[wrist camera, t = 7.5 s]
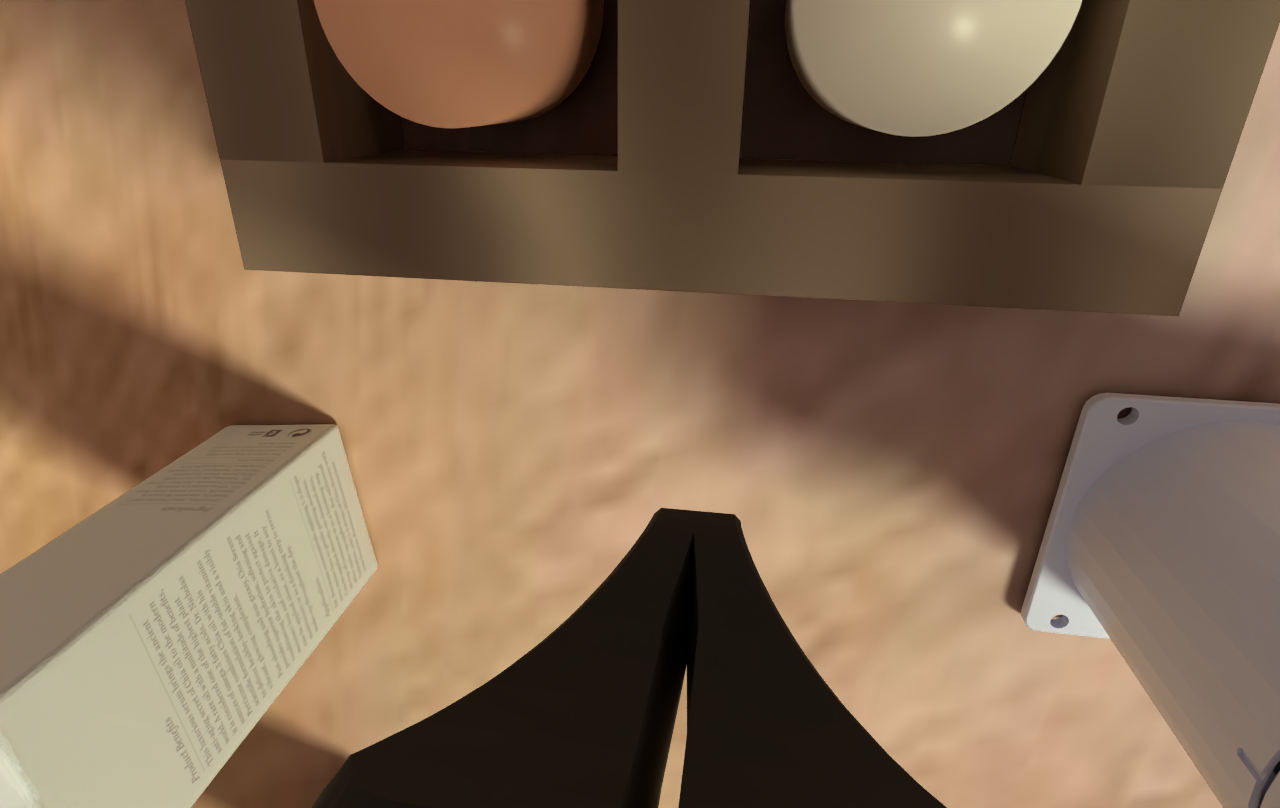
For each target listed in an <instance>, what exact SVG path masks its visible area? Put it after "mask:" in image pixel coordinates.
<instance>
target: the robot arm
mask: <svg viewBox="0 0 1280 808" xmlns="http://www.w3.org/2000/svg"><path fill="white" fill-rule="evenodd" d="M1128 407H1132V409H1131V412H1130V414H1129V415H1128V416H1126V417H1125V418H1122V419H1117V415H1118V414H1119V412H1120V411H1121V410H1123V409H1124V408H1128ZM1056 615H1062V617H1060V618H1058V619H1053V620H1052V618H1053V617H1054V616H1056ZM1021 616H1022V618H1023V620H1024V622H1025V624H1026V626H1027V627H1028V628H1030V629H1031V630H1035V631H1040V632H1049V633H1059V634H1069V635H1078V636H1088V637H1098V638H1107V639H1111V640H1112V642H1113V643H1114V645H1115V646H1116V648H1117V649H1118V651H1119V652H1120V654H1121V655H1122V657H1123V658H1124V660H1125V661H1126V663H1127V664H1128V666H1129V667H1130V669H1131V670H1132V672H1133V673H1134V675H1135V676H1136V678H1137V679H1138V681H1139V682H1140V684H1141V685H1142V687H1143V688H1144V690H1145V691H1146V693H1147V694H1148V696H1149V697H1150V699H1151V700H1152V702H1153V703H1154V705H1155V706H1156V708H1157V709H1158V711H1159V712H1160V714H1161V715H1162V717H1163V718H1164V720H1165V721H1166V723H1167V724H1168V726H1169V727H1170V728H1171V730H1172V731H1173V733H1174V734H1175V736H1176V737H1177V739H1178V740H1179V742H1180V743H1181V745H1182V746H1183V748H1184V749H1185V751H1186V752H1187V754H1188V755H1189V757H1190V758H1191V760H1192V761H1193V763H1194V764H1195V766H1196V767H1197V769H1198V770H1199V772H1200V773H1201V775H1202V776H1203V778H1204V779H1205V781H1206V782H1207V784H1208V785H1209V787H1210V788H1211V790H1212V791H1213V793H1214V794H1215V796H1216V797H1217V799H1218V800H1219V802H1220V803H1221V805H1222V806H1223V808H1280V404H1278V403H1262V402H1246V401H1231V400H1215V399H1199V398H1183V397H1167V396H1151V395H1136V394H1120V393H1100V394H1097V395H1095V396H1092V397H1091V398H1090V399H1089V400H1088V401H1086V403H1085V404H1084V406H1083V408H1082V411H1081V415H1080V418H1079V421H1078V424H1077V428H1076V431H1075V434H1074V438H1073V441H1072V444H1071V448H1070V451H1069V454H1068V458H1067V461H1066V464H1065V467H1064V471H1063V474H1062V477H1061V481H1060V484H1059V487H1058V491H1057V494H1056V497H1055V501H1054V504H1053V507H1052V511H1051V514H1050V517H1049V520H1048V524H1047V527H1046V530H1045V534H1044V537H1043V540H1042V544H1041V547H1040V550H1039V554H1038V557H1037V560H1036V563H1035V567H1034V570H1033V573H1032V577H1031V580H1030V583H1029V587H1028V590H1027V593H1026V597H1025V600H1024V603H1023V606H1022V610H1021ZM686 665H687V740H686V749H685V758H684V766H683V775H682V783H681V792H680V800H679V808H946V807H945V806H944V805H943V804H942V803H940V802H939V801H938V800H937V799H936V798H935V797H933V796H932V795H931V794H930V793H929V792H927V791H926V790H925V789H924V788H923V787H922V786H921V785H920V784H918V783H917V782H916V781H915V780H914V779H913V778H912V777H911V776H910V775H909V774H908V773H907V772H906V771H905V770H904V769H903V768H902V767H901V766H900V765H899V764H897V763H896V762H895V761H894V760H893V759H892V758H891V757H890V756H889V755H888V754H887V753H886V752H885V750H884V749H883V748H882V747H881V746H880V745H879V744H878V743H877V742H876V741H875V740H874V738H873V737H872V736H871V735H870V734H869V733H868V732H867V731H866V730H865V729H864V727H863V726H862V725H861V724H860V723H859V722H858V721H857V720H856V719H855V718H854V716H853V715H852V714H851V713H850V712H849V711H848V710H847V709H846V708H845V706H844V705H843V704H842V703H841V701H840V700H839V699H838V698H837V696H836V695H835V694H834V693H833V691H832V690H831V689H830V688H829V686H828V685H827V684H826V683H825V681H824V680H823V679H822V677H821V676H820V675H819V673H818V672H817V670H816V669H815V668H814V666H813V665H812V664H811V662H810V661H809V659H808V658H807V657H806V655H805V654H804V652H803V651H802V649H801V648H800V646H799V645H798V643H797V642H796V640H795V639H794V637H793V635H792V634H791V632H790V630H789V629H788V627H787V625H786V624H785V622H784V620H783V619H782V617H781V615H780V614H779V612H778V610H777V608H776V607H775V605H774V603H773V601H772V599H771V597H770V595H769V593H768V591H767V589H766V587H765V585H764V583H763V581H762V579H761V577H760V575H759V573H758V571H757V569H756V567H755V564H754V562H753V560H752V557H751V555H750V552H749V550H748V547H747V544H746V541H745V538H744V535H743V532H742V528H741V522H740V520H739V519H738V518H737V517H736V516H735V515H734V514H723V513H712V512H701V511H690V510H678V509H667V508H661V509H660V510H658V511H657V512H656V513H655V514H654V515H653V517H652V519H651V521H650V522H649V524H648V525H647V527H646V529H645V530H644V532H643V533H642V534H641V536H640V537H639V539H638V540H637V541H636V543H635V544H634V545H633V547H632V548H631V550H630V551H629V552H628V553H627V555H626V556H625V557H624V558H623V559H622V561H621V562H620V563H619V564H618V566H617V567H616V568H615V569H614V570H613V572H612V573H611V574H610V575H609V576H608V578H607V579H606V580H605V581H604V582H603V583H602V584H601V585H600V586H599V587H598V588H597V589H596V591H595V592H594V593H593V594H592V595H591V596H590V597H589V598H588V599H587V600H586V601H585V602H584V603H583V604H582V605H581V606H580V607H579V608H578V609H577V610H576V611H575V612H574V613H573V614H572V615H571V616H570V617H569V618H568V619H567V620H566V621H565V622H564V623H563V624H561V625H560V626H559V627H558V628H557V629H556V630H555V631H554V632H552V633H551V634H550V635H549V636H548V637H547V638H545V639H544V640H543V641H542V642H541V643H539V644H538V645H537V646H536V647H534V648H533V649H532V650H531V651H529V652H528V653H527V654H525V655H524V656H523V657H521V658H520V659H519V660H517V661H516V662H515V663H514V664H512V665H511V666H510V667H508V668H507V669H506V670H504V671H503V672H501V673H500V674H498V675H497V676H496V677H494V678H493V679H491V680H490V681H488V682H487V683H485V684H484V685H482V686H481V687H479V688H477V689H476V690H474V691H472V692H471V693H469V694H468V695H466V696H464V697H463V698H461V699H459V700H458V701H456V702H454V703H453V704H451V705H449V706H448V707H446V708H444V709H442V710H441V711H439V712H437V713H435V714H433V715H432V716H430V717H428V718H426V719H424V720H422V721H420V722H418V723H416V724H414V725H412V726H410V727H408V728H406V729H404V730H402V731H400V732H398V733H396V734H394V735H392V736H390V737H388V738H386V739H384V740H382V741H379V742H377V743H375V744H373V745H371V746H369V747H367V748H365V749H363V750H360V751H358V752H356V753H354V754H351V755H350V756H349V757H348V759H347V760H346V762H345V763H344V765H343V766H342V767H341V769H340V770H339V772H338V773H337V774H336V775H335V777H334V778H333V779H332V780H331V782H330V783H329V784H328V785H327V787H326V788H325V789H324V791H323V792H322V794H321V795H320V796H319V798H318V799H317V801H316V802H315V804H314V805H313V806H312V808H658V805H659V799H660V793H661V787H662V782H663V777H664V772H665V768H666V763H667V758H668V753H669V748H670V743H671V738H672V734H673V729H674V724H675V719H676V714H677V709H678V705H679V700H680V695H681V690H682V685H683V680H684V675H685V670H686Z"/></svg>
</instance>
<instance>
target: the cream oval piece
mask: <svg viewBox="0 0 1280 808" xmlns="http://www.w3.org/2000/svg"><path fill="white" fill-rule="evenodd" d="M1081 3H1082V0H786V7H785V33H786V42H787V47H788V52H789V56H790V59H791V62H792V64H793V67H794V70H795V72H796V74H797V76H798V78H799V80H800V82H801V83H802V85H803V86H804V88H805V89H806V90H807V92H808V93H809V95H810V96H811V97H812V98H813V99H814V100H815V101H816V102H817V103H818V104H819V105H820V106H822V107H823V108H824V109H825V110H827V111H828V112H829V113H831V114H833V115H834V116H836V117H838V118H839V119H841V120H844V121H846V122H849V123H851V124H854V125H858V126H861V127H865V128H868V129H872V130H876V131H879V132H884V133H888V134H892V135H898V136H909V137H919V136H933V135H939V134H944V133H949V132H953V131H956V130H959V129H962V128H966V127H968V126H970V125H973V124H975V123H977V122H979V121H982V120H984V119H986V118H987V117H989V116H991V115H992V114H994V113H996V112H998V111H999V110H1001V109H1002V108H1004V107H1005V106H1006V105H1008V104H1009V103H1010V102H1012V101H1013V100H1014V99H1016V98H1017V97H1018V96H1019V95H1021V94H1022V93H1023V92H1024V91H1025V90H1026V89H1027V88H1028V87H1029V86H1030V85H1031V84H1032V83H1033V82H1034V81H1035V80H1036V79H1037V78H1038V77H1039V76H1040V74H1041V73H1042V72H1043V71H1044V70H1045V69H1046V68H1047V66H1048V65H1049V64H1050V62H1051V61H1052V59H1053V58H1054V57H1055V55H1056V54H1057V52H1058V51H1059V49H1060V48H1061V46H1062V44H1063V43H1064V41H1065V39H1066V37H1067V35H1068V34H1069V32H1070V30H1071V28H1072V26H1073V23H1074V21H1075V19H1076V16H1077V14H1078V12H1079V9H1080V6H1081Z"/></svg>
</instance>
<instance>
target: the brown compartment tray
mask: <svg viewBox="0 0 1280 808" xmlns="http://www.w3.org/2000/svg"><path fill="white" fill-rule="evenodd" d="M185 3H186V8H187V12H188V17H189V21H190V26H191V30H192V35H193V39H194V44H195V48H196V53H197V57H198V62H199V66H200V71H201V75H202V80H203V84H204V89H205V93H206V98H207V102H208V107H209V112H210V116H211V121H212V125H213V130H214V134H215V139H216V143H217V148H218V152H219V157H220V161H221V166H222V170H223V175H224V179H225V184H226V188H227V193H228V197H229V202H230V206H231V211H232V215H233V220H234V224H235V229H236V233H237V238H238V242H239V247H240V251H241V256H242V260H243V265H244V269H245V270H265V271H285V272H305V273H325V274H345V275H365V276H385V277H405V278H425V279H445V280H465V281H485V282H505V283H525V284H545V285H565V286H585V287H605V288H625V289H645V290H665V291H685V292H705V293H725V294H745V295H765V296H785V297H805V298H825V299H845V300H865V301H885V302H905V303H925V304H945V305H965V306H985V307H1005V308H1025V309H1045V310H1065V311H1085V312H1105V313H1125V314H1145V315H1166V316H1179V314H1180V311H1181V308H1182V305H1183V302H1184V299H1185V296H1186V293H1187V290H1188V287H1189V285H1190V282H1191V279H1192V276H1193V273H1194V270H1195V267H1196V264H1197V261H1198V258H1199V255H1200V253H1201V250H1202V247H1203V244H1204V241H1205V238H1206V235H1207V232H1208V229H1209V226H1210V223H1211V221H1212V218H1213V215H1214V212H1215V209H1216V206H1217V203H1218V200H1219V197H1220V194H1221V192H1222V189H1223V186H1224V183H1225V180H1226V177H1227V174H1228V171H1229V168H1230V165H1231V162H1232V160H1233V157H1234V154H1235V151H1236V148H1237V145H1238V142H1239V139H1240V136H1241V133H1242V130H1243V128H1244V125H1245V122H1246V119H1247V116H1248V113H1249V110H1250V107H1251V104H1252V101H1253V98H1254V96H1255V93H1256V90H1257V87H1258V84H1259V81H1260V78H1261V75H1262V72H1263V69H1264V67H1265V64H1266V61H1267V58H1268V55H1269V52H1270V49H1271V46H1272V43H1273V40H1274V37H1275V35H1276V32H1277V29H1278V26H1279V23H1280V0H1082V3H1081V6H1080V9H1079V12H1078V14H1077V16H1076V19H1075V21H1074V23H1073V26H1072V28H1071V30H1070V32H1069V34H1068V35H1067V37H1066V39H1065V41H1064V43H1063V44H1062V46H1061V48H1060V49H1059V51H1058V52H1057V54H1056V55H1055V57H1054V58H1053V59H1052V61H1051V62H1050V64H1049V65H1048V66H1047V68H1046V69H1045V70H1044V71H1043V72H1042V73H1041V74H1040V76H1039V77H1038V78H1037V79H1036V80H1035V81H1034V82H1033V83H1032V84H1031V85H1030V86H1029V87H1028V88H1027V93H1026V97H1025V102H1024V106H1023V111H1022V115H1021V120H1020V124H1019V129H1018V133H1017V138H1016V142H1015V147H1014V152H1013V156H1012V161H1011V165H1010V166H1008V165H970V164H932V163H894V162H856V161H818V160H779V159H741V158H740V148H741V134H742V119H743V105H744V90H745V75H746V61H747V46H748V32H749V17H750V3H751V0H618V155H588V154H550V153H512V152H474V151H436V150H404V141H403V133H402V124H401V116H399V115H398V114H396V113H394V112H392V111H390V110H388V109H387V108H385V107H384V106H383V105H381V104H380V103H379V102H377V101H376V100H374V99H373V98H372V97H371V96H370V95H369V94H368V93H367V92H365V91H364V90H363V89H362V88H361V87H360V86H359V85H358V84H357V82H356V81H355V80H354V79H353V78H352V77H351V76H350V74H349V73H348V72H347V70H346V69H345V68H344V66H343V65H342V63H341V62H340V61H339V59H338V58H337V56H336V54H335V52H334V51H333V49H332V47H331V45H330V43H329V42H328V39H327V37H326V35H325V32H324V30H323V28H322V26H321V23H320V20H319V17H318V14H317V11H316V7H315V4H314V0H185Z"/></svg>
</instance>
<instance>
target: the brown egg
mask: <svg viewBox="0 0 1280 808" xmlns="http://www.w3.org/2000/svg"><path fill="white" fill-rule="evenodd" d="M314 4H315V7H316V11H317V14H318V17H319V20H320V23H321V26H322V28H323V30H324V32H325V35H326V37H327V39H328V42H329V43H330V45H331V47H332V49H333V51H334V52H335V54H336V56H337V58H338V59H339V61H340V62H341V63H342V65H343V66H344V68H345V69H346V70H347V72H348V73H349V74H350V76H351V77H352V78H353V79H354V80H355V81H356V82H357V84H358V85H359V86H360V87H361V88H362V89H363V90H364V91H365V92H367V93H368V94H369V95H370V96H371V97H372V98H373V99H374V100H376V101H377V102H379V103H380V104H381V105H383V106H384V107H385V108H387V109H388V110H390V111H392V112H394V113H396V114H398V115H399V116H401V117H403V118H406V119H408V120H411V121H413V122H416V123H419V124H423V125H427V126H431V127H439V128H466V127H474V126H483V125H492V124H500V123H509V122H517V121H522V120H527V119H531V118H534V117H536V116H539V115H542V114H544V113H546V112H547V111H549V110H551V109H553V108H554V107H556V106H557V105H558V104H560V103H561V102H562V101H564V100H565V99H566V98H567V97H568V96H569V95H570V94H571V93H572V92H573V91H574V90H575V88H576V87H577V86H578V85H579V83H580V82H581V81H582V79H583V78H584V76H585V74H586V72H587V71H588V69H589V67H590V65H591V63H592V60H593V58H594V56H595V53H596V50H597V46H598V43H599V39H600V35H601V29H602V22H603V0H314Z"/></svg>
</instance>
